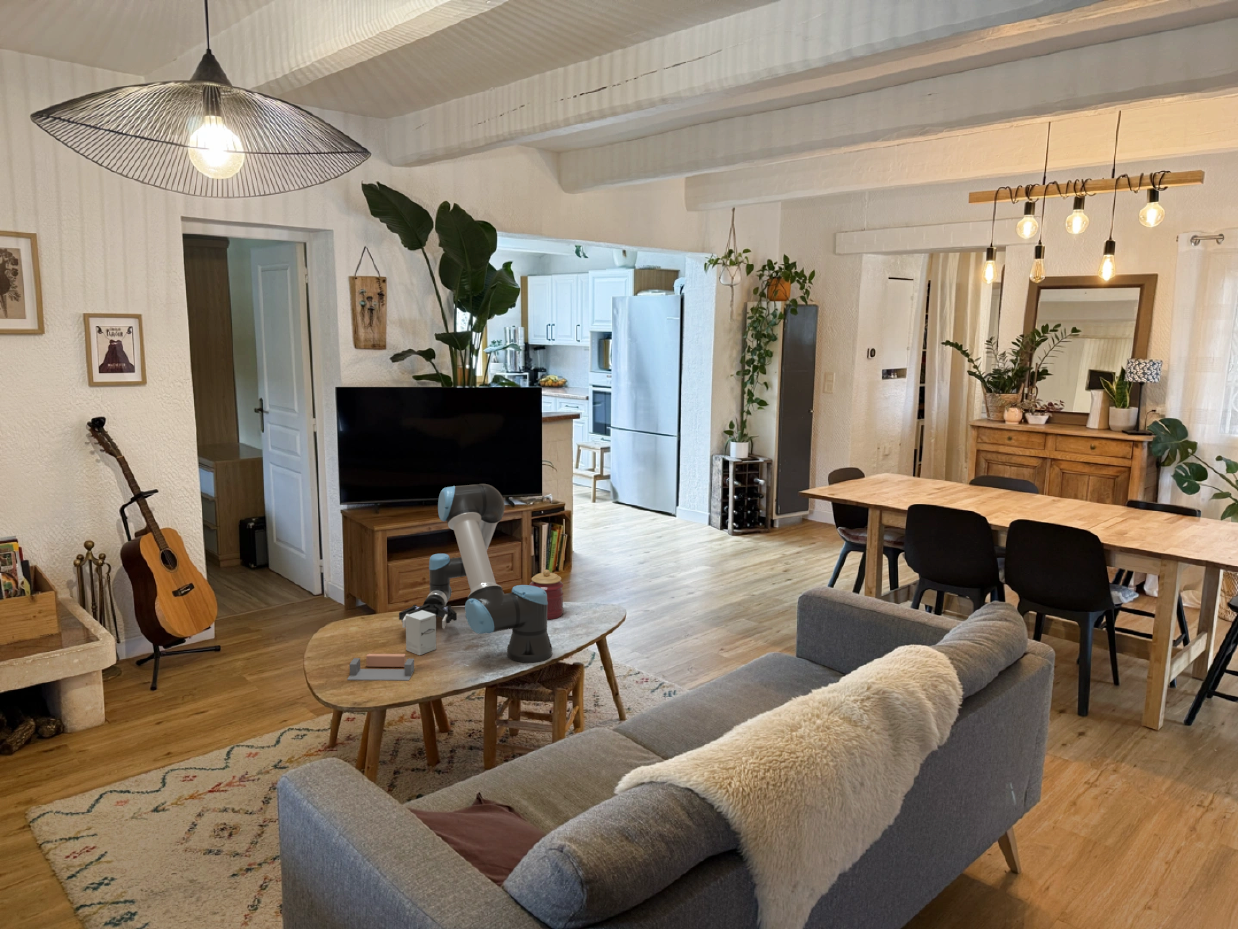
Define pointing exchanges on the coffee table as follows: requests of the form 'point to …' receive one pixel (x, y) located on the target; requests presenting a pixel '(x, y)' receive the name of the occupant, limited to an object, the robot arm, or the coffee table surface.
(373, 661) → the pink eraser brick
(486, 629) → the robot arm
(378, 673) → the housing
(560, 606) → the canister
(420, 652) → the supplement box
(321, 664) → the coffee table surface
